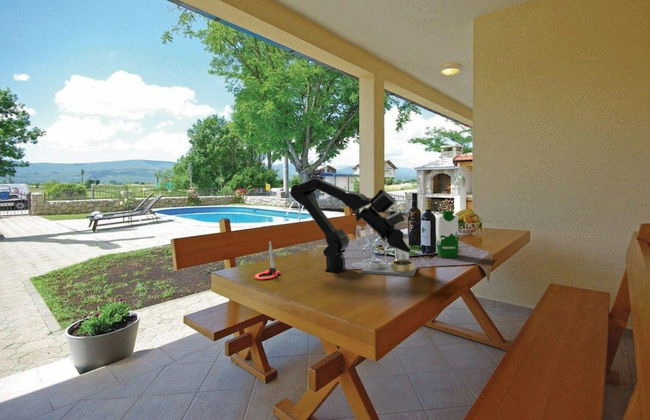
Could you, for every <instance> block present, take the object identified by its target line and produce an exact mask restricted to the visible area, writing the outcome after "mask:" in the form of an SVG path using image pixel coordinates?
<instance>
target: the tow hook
mask: <svg viewBox="0 0 650 420" xmlns="http://www.w3.org/2000/svg"><path fill="white" fill-rule="evenodd" d="M268 245H269V247H268V249H269V250H268V251H269V266H270V267H269V269H266V270H265V271H262V272H259V273H256V274H255V275H254V279H255V278H256V279H260V280H259V281H266V280H265V279H270V280H273V279H275V278H277V277H278V274H280V275H281V274H282V271H281V270H277V267H276V266H275V260H274V253H273V246H272V241H268ZM269 273H271V274H270V276H264V275H263V274H266V275H269ZM260 275H262V277H261V276H260ZM259 276H260V277H259ZM272 278H273V279H272ZM256 279H255V280H256Z"/></svg>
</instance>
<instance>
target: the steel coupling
mask: <svg viewBox="0 0 650 420" xmlns="http://www.w3.org/2000/svg"><path fill="white" fill-rule="evenodd" d="M403 234H404V235H403V240H404V242H405V243H406V245H407V246H408V248H409V245H410V244H409V243H410V242H409V241H410V240H409V234H408V233H403ZM409 249H410V248H409ZM394 261H395V264H398V265H408V264H409V261H410V251H409V252H405V251H403V250H400V249H398V248H395V247H394Z"/></svg>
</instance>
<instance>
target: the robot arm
mask: <svg viewBox="0 0 650 420" xmlns="http://www.w3.org/2000/svg"><path fill="white" fill-rule="evenodd" d="M290 188H291V189H290V193H289V194H290V196H291V198H293V200H294V201H296V202H297V203H298V204H299V205H301V206H303V207H304V208H305V210H306V211H307V212H308V214H309V215H310V217H311V218H312V219H313V221H314V222H315V223H316V225H317V226H318V228H319V229H320V230H321V232H323V234H324V238H325V241H326V244H327V246H326V248H324V250H322V251H323V252H322V253H323V255H324V257H325V258H326V259H325V260H326V261H325V262H326V269H324V272H330V273H331V272H332V273H333V272H335V273H341V272H342V271H344V270H345V269H346V268H347V267H346V258H345V257H344V255H345V254H344V253H345V252H346V249H348V247H349V245H350V244H349V243H350V240H349V238H348V237H349V236H348V235H347V234H346V233H345V231H344V230H343V228H339V229H337V228H336V227H335V226H334V224H332V222H331V221H330V219H329V218H328V217H327V215H326V214H325V213H324V212H323V210H322V208H320V206H319V205H318V203H317V202H316V201H315V199H314V194H313V193H315V192H316V191H317V190H318V191H320V192H323V193H325V194H327V195H329V196H331V197H333V198H336V199H338V200H339V201H341V202H342V203H343V204H344V205H345V206H347V208H350V209H351V210H354V211H358V210H361V211H359V212H355V222H356V223H357V222H359V221H360V220H362V221H364V222H365V223H366V224H367V225H368V226H369V227H370V228H371V229H372V230H374V231H375V232H376V233H377V236H379V238H380V239H382V240H383V241H384V242H386V243H387V244H388V246H390V247H392V248H394V249H395V248H398V249H400V250H403V251H405V252H409V253H410V251H411V249H410V248H408V246H407V245H406V243H405V242H404V240H403V235H404V234H405V233H404V232H403V231H402V230H401V229H399V228H398V227H397V228H395V225H397V224H399V223H401V222H404V221H405V217H404V216H403V214H402V211H396V212H395V211H393V210H390V211H389V212H388V216H386V217H385V216H382V215H381V214H380V213H382V214H384V213H385V212H386V211H388V210H389V209H390V208H391V207H392V206H393V205H395V203H396V200H395V199H394V197H393V196H392V195H391V194H389V193H388V192H386V191H385V190H384V189H380V190H378V192H377V193H376V194H375V195H374V196H373V197H367V196H366V195H365V194H364V193H359V192H355V191H349V190H346V189H344V188H342V187H340V186H337V185H335V184H332V183H331V182H328V181H326V180H323V178H320V177H314V178H312V179H311V180H307V181H306V182H303V183H300V184H294V185H292V187H290ZM367 206H368V207H367Z"/></svg>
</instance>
